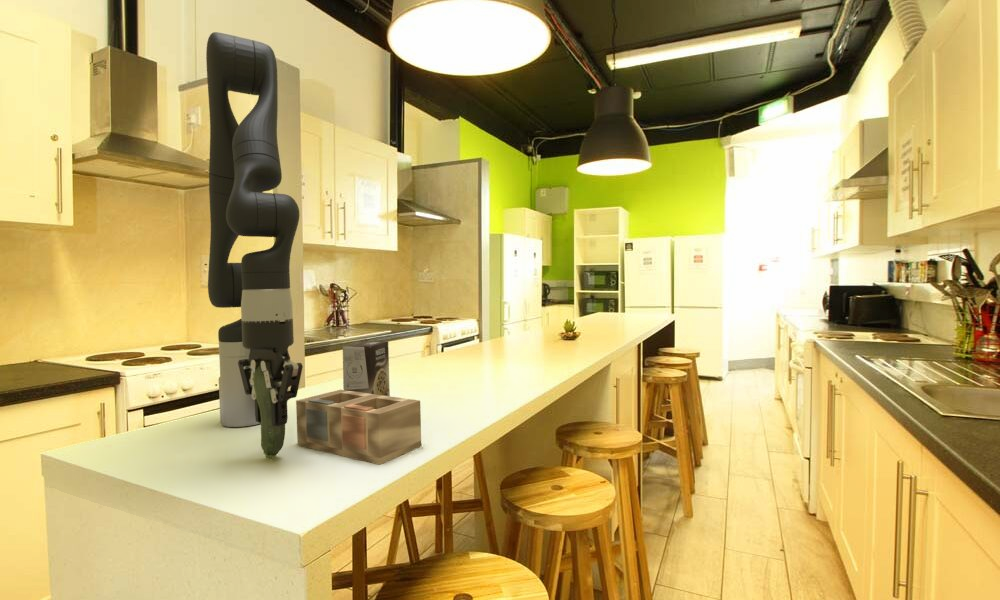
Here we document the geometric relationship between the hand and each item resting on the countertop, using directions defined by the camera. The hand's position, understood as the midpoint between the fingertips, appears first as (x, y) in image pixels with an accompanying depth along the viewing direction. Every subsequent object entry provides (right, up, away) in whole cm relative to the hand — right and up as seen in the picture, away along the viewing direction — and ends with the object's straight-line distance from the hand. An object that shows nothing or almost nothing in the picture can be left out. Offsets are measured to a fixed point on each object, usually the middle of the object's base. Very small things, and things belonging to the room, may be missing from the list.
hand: (271, 422), depth 82 cm
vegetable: (0, -6, 0) cm, 6 cm away
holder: (+12, -6, +7) cm, 15 cm away
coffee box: (+10, -5, +24) cm, 26 cm away
